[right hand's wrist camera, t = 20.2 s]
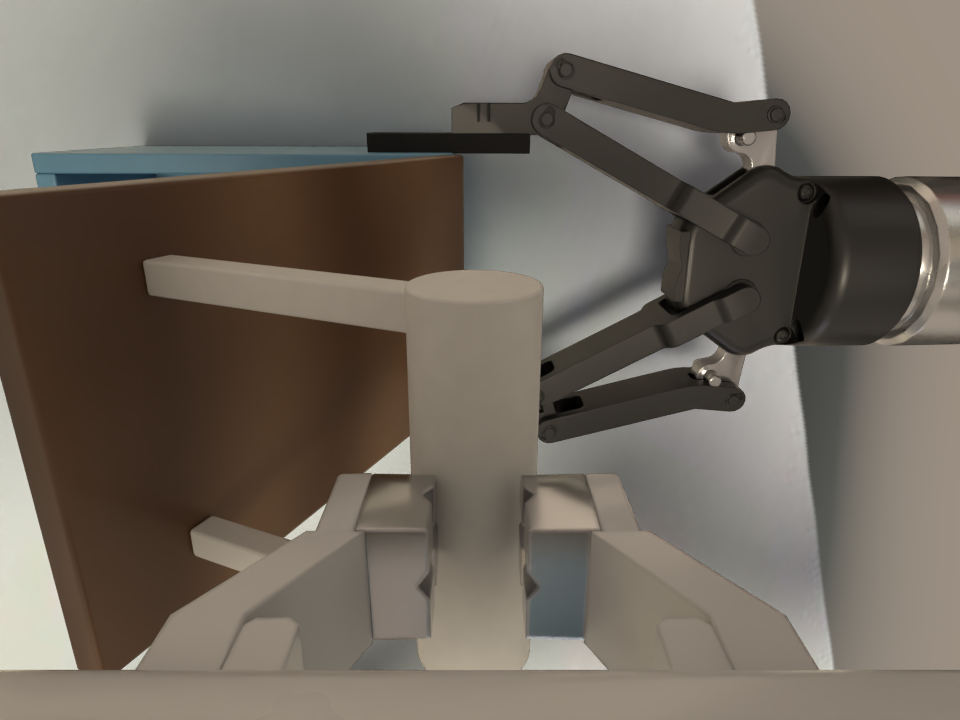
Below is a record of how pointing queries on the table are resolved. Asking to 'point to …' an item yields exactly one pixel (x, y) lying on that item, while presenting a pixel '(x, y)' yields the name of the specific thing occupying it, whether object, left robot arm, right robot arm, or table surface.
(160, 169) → the chest
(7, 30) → the table surface
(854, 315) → the left robot arm
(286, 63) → the table surface
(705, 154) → the table surface
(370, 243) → the lid
